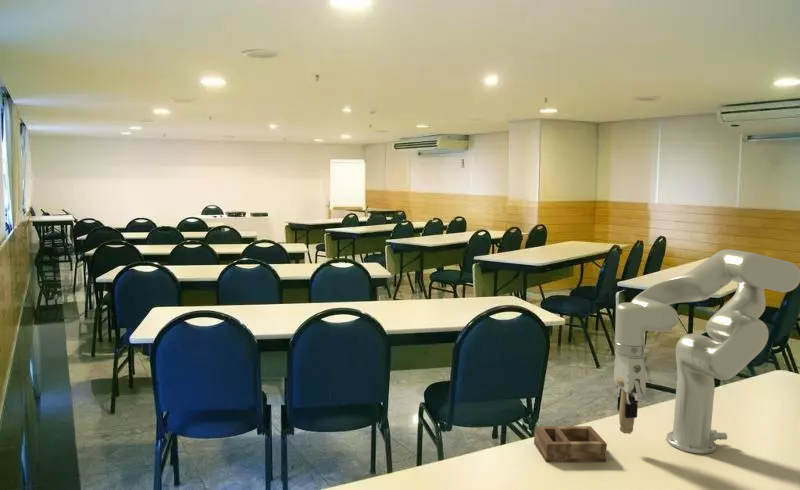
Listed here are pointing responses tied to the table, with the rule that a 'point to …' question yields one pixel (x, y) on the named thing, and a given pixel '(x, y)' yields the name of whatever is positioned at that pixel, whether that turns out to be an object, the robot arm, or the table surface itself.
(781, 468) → the table surface
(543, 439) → the socket block
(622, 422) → the handle
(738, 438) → the table surface
